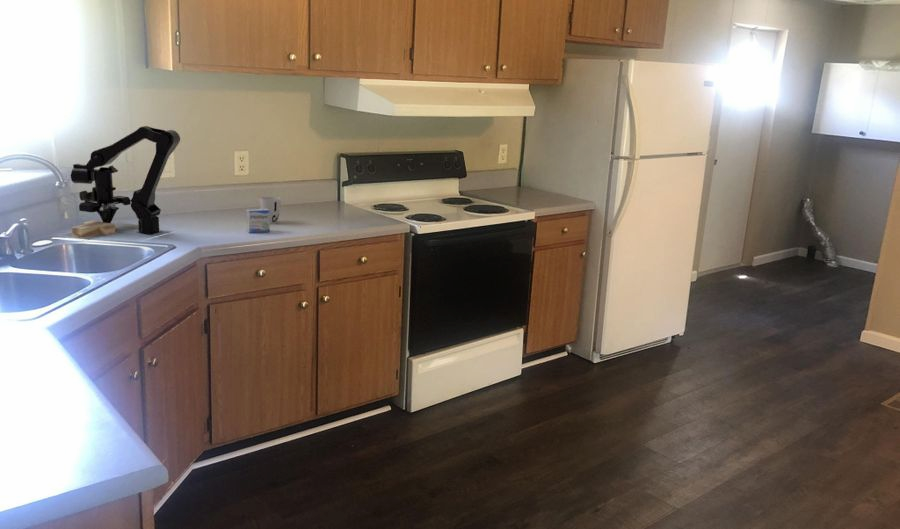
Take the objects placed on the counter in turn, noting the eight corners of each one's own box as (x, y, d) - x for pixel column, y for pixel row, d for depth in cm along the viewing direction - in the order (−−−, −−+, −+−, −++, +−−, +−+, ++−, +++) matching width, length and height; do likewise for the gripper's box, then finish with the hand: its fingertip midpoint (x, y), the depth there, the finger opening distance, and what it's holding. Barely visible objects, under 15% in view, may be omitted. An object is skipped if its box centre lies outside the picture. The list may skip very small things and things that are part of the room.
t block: (114, 231, 260) (114, 223, 259) (88, 238, 249) (87, 229, 248) (93, 228, 263) (92, 220, 262) (66, 234, 252) (65, 226, 251)
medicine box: (249, 233, 272) (248, 210, 269) (246, 230, 275) (246, 208, 273) (269, 232, 275) (269, 210, 273) (267, 229, 279) (266, 207, 277)
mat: (144, 227, 272) (144, 225, 271) (89, 241, 247) (88, 239, 247) (119, 223, 275) (118, 221, 275) (61, 236, 251) (61, 235, 251)
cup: (275, 225, 287) (275, 200, 284) (256, 223, 288) (256, 198, 286) (283, 221, 295) (283, 197, 292) (265, 219, 296) (265, 195, 293)
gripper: (106, 178, 269) (109, 219, 273) (65, 185, 252) (68, 229, 256) (130, 182, 265) (132, 223, 270) (90, 189, 248) (93, 233, 252)
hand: (107, 227), depth 262 cm, fingers closed
